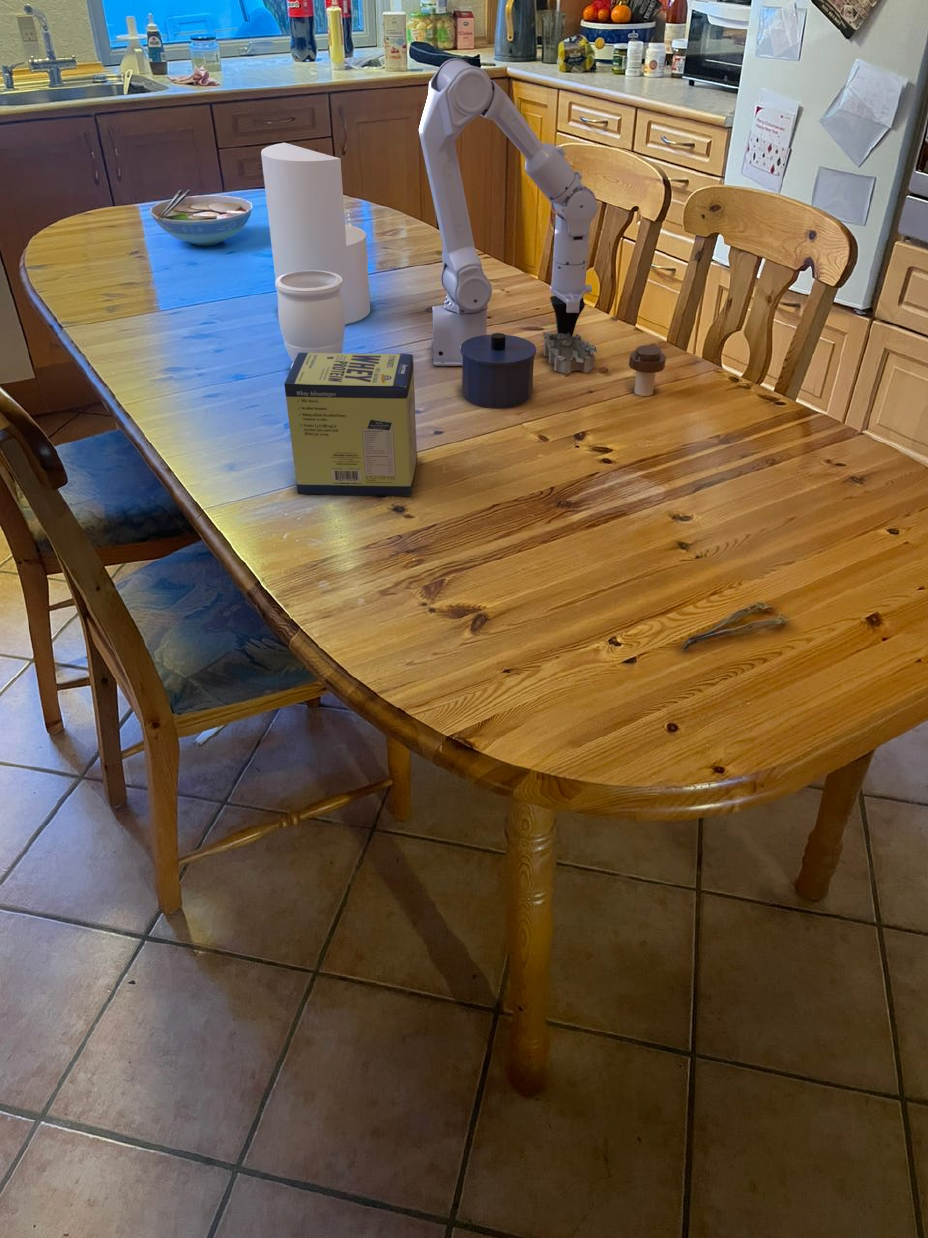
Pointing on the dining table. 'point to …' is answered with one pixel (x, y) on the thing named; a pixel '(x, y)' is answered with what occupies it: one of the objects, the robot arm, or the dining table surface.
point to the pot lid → (498, 350)
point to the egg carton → (569, 352)
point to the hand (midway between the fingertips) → (564, 339)
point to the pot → (497, 384)
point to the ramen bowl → (202, 217)
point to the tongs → (732, 619)
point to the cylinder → (314, 222)
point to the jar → (311, 312)
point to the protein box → (352, 423)
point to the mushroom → (646, 368)
